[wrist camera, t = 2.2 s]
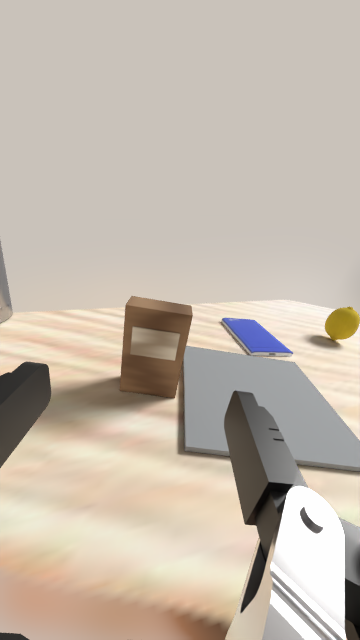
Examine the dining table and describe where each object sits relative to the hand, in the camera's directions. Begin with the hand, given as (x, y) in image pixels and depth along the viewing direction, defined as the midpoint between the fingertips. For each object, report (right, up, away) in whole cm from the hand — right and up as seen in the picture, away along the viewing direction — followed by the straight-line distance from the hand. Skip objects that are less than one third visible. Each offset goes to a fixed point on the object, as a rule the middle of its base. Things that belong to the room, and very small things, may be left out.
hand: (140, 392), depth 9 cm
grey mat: (+11, -6, +16) cm, 21 cm away
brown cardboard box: (-2, -4, +15) cm, 15 cm away
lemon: (+36, -1, +37) cm, 52 cm away
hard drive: (+16, -1, +32) cm, 35 cm away
